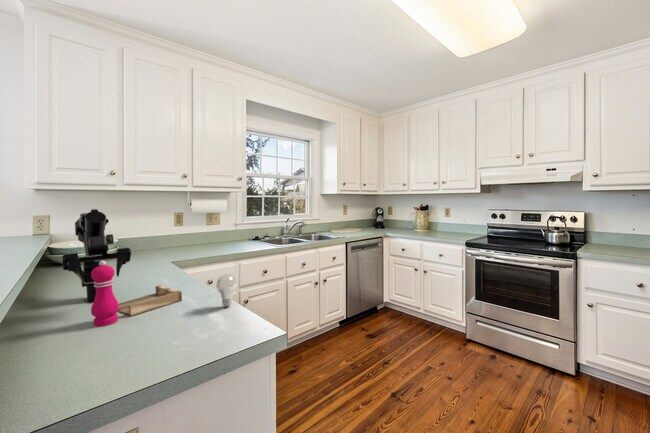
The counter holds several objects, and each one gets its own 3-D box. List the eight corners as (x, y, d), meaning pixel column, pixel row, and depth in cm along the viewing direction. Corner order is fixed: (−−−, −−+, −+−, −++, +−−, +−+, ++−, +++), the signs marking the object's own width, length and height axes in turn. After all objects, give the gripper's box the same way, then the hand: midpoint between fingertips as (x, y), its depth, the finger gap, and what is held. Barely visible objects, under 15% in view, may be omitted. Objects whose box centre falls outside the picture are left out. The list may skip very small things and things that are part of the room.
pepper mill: (105, 328, 93) (101, 263, 91) (85, 326, 94) (81, 262, 93) (125, 318, 100) (121, 258, 98) (106, 317, 101) (103, 257, 100)
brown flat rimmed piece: (109, 307, 110) (109, 297, 110) (159, 293, 125) (159, 285, 125) (131, 316, 101) (130, 306, 101) (182, 300, 116) (181, 291, 116)
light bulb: (219, 303, 113) (218, 272, 112) (238, 303, 113) (238, 271, 112) (214, 310, 106) (213, 277, 105) (234, 310, 106) (234, 276, 105)
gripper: (60, 229, 97) (63, 269, 90) (128, 225, 110) (136, 260, 102) (61, 250, 104) (64, 289, 96) (126, 244, 116) (133, 278, 109)
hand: (101, 278), depth 101 cm, fingers open, 9 cm apart
